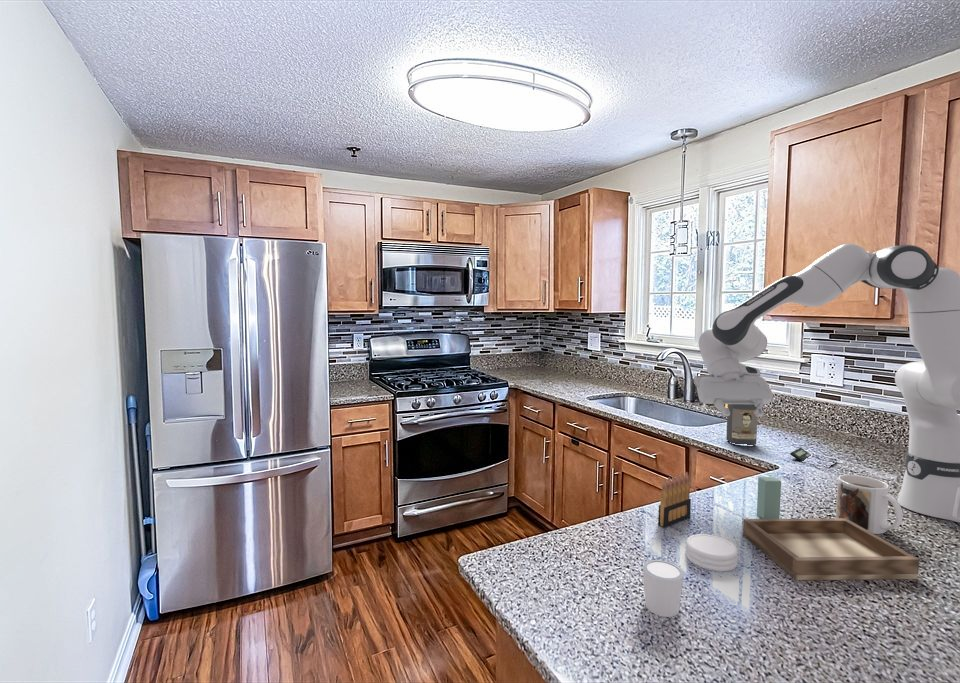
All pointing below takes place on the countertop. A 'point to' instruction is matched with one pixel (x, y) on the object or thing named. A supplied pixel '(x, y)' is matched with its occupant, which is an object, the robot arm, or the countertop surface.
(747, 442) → the liquor
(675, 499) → the ammunition clip
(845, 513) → the mug
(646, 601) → the white cylinder
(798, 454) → the calculator
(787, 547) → the wooden serving tray
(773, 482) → the grey-green rectangular block
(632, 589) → the countertop surface
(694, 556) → the white round disc stack
